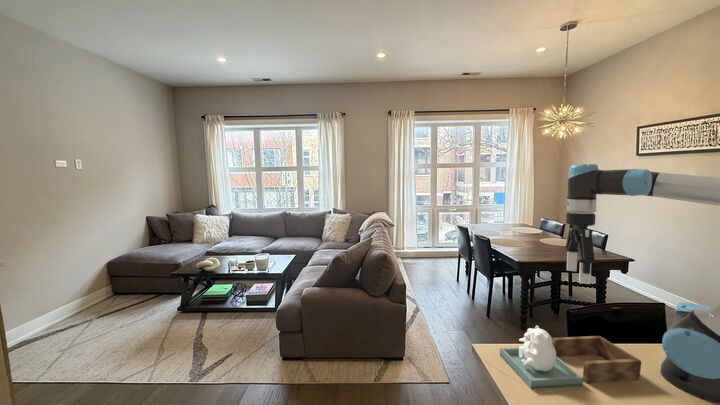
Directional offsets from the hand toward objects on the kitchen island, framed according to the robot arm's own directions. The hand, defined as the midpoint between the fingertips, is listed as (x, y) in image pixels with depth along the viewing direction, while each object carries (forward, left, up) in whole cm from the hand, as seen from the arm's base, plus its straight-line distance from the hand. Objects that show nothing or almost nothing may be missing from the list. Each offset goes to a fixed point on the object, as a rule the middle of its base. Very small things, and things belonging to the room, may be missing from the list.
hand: (577, 276), depth 96 cm
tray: (+10, +15, -27) cm, 32 cm away
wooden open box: (-5, +4, -27) cm, 28 cm away
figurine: (+10, +14, -26) cm, 32 cm away
